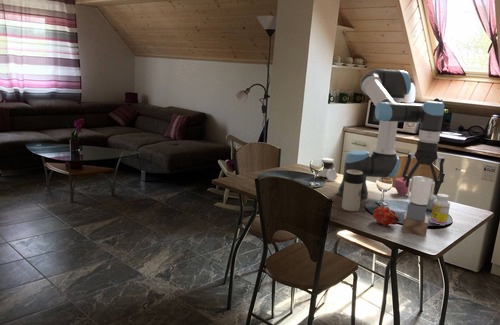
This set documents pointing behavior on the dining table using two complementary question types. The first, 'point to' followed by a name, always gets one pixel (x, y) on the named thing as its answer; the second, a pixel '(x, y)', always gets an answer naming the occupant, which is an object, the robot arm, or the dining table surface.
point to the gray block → (416, 211)
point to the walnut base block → (415, 226)
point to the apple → (401, 186)
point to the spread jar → (328, 170)
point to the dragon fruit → (385, 216)
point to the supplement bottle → (440, 209)
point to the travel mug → (352, 190)
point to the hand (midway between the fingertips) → (419, 196)
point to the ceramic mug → (431, 202)
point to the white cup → (420, 190)
